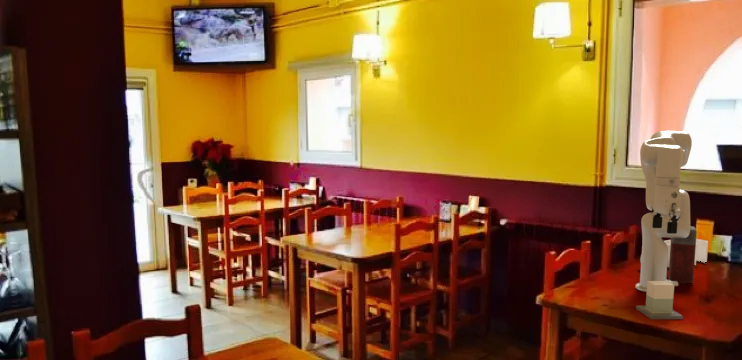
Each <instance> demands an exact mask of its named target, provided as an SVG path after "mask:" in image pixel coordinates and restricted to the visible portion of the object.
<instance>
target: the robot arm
mask: <svg viewBox="0 0 742 360" xmlns="http://www.w3.org/2000/svg"><path fill="white" fill-rule="evenodd" d="M692 140H693V139H692V138H691V135H690V133H689V132H687V131H683V130H681V131H679V130H678V131H677V130H661V131H657V132H655V133H653V134H652V135H651V136H650V138H649V139H648V140H644V142H642V143H641V146H640V149H639V152H640V153H639V154H640V155H639V156H640V157H639V159H640V166H641V169H642V172H643V174H644V177H645V205H646V208H647V209H648V210H649V211H652V212H648V213H646V214H644V215H643V216H642V217H641V223H640V224H641V238H642V242H641V243H642V246H641V255H642V259H641V262H640V276H639V282H638V283H636V284H635V289H636V290H639V291H641V292H643V293H647V281H667V282H669V283H671V284H673V285H674V287H678V286H679V283H678V282H677V281H671V280H669V279H667V278H668V277H667V275H668V267H667V262H668V247H667V245H666V243H665V242H664V241H665V240H664V239H662V238H670V239H671V238H686V237H688V235H689V233H690V226H691V200H690V195H689V193H688V192H687V191H686V190H684V189H683V190H682V189H681V188H680V183H681V168H684V167H685V166H686V165H687V163H688V160H689V158H690V153H691V150H692V143H693V141H692Z"/></svg>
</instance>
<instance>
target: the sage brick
mask: <svg viewBox="0 0 742 360" xmlns="http://www.w3.org/2000/svg"><path fill="white" fill-rule="evenodd" d="M645 298H646V299H645V306H646V309H648V310H649V311H651V312H652V313H672V310H674V309H673V308H674V307H673V306H674V305H673V304H674V298H673V299H653V298H652V297H650V296H648V295H646V296H645Z"/></svg>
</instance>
